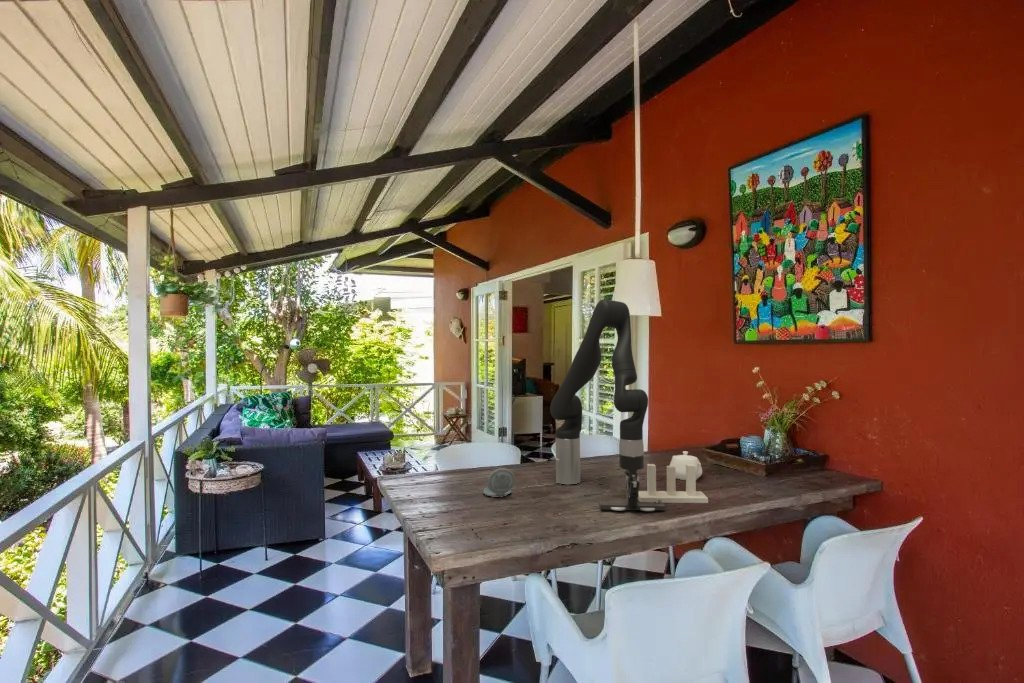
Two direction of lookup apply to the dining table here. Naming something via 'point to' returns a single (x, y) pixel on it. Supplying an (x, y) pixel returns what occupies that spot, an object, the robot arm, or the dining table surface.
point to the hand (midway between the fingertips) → (632, 507)
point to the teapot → (681, 463)
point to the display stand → (672, 487)
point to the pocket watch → (499, 482)
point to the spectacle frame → (626, 505)
